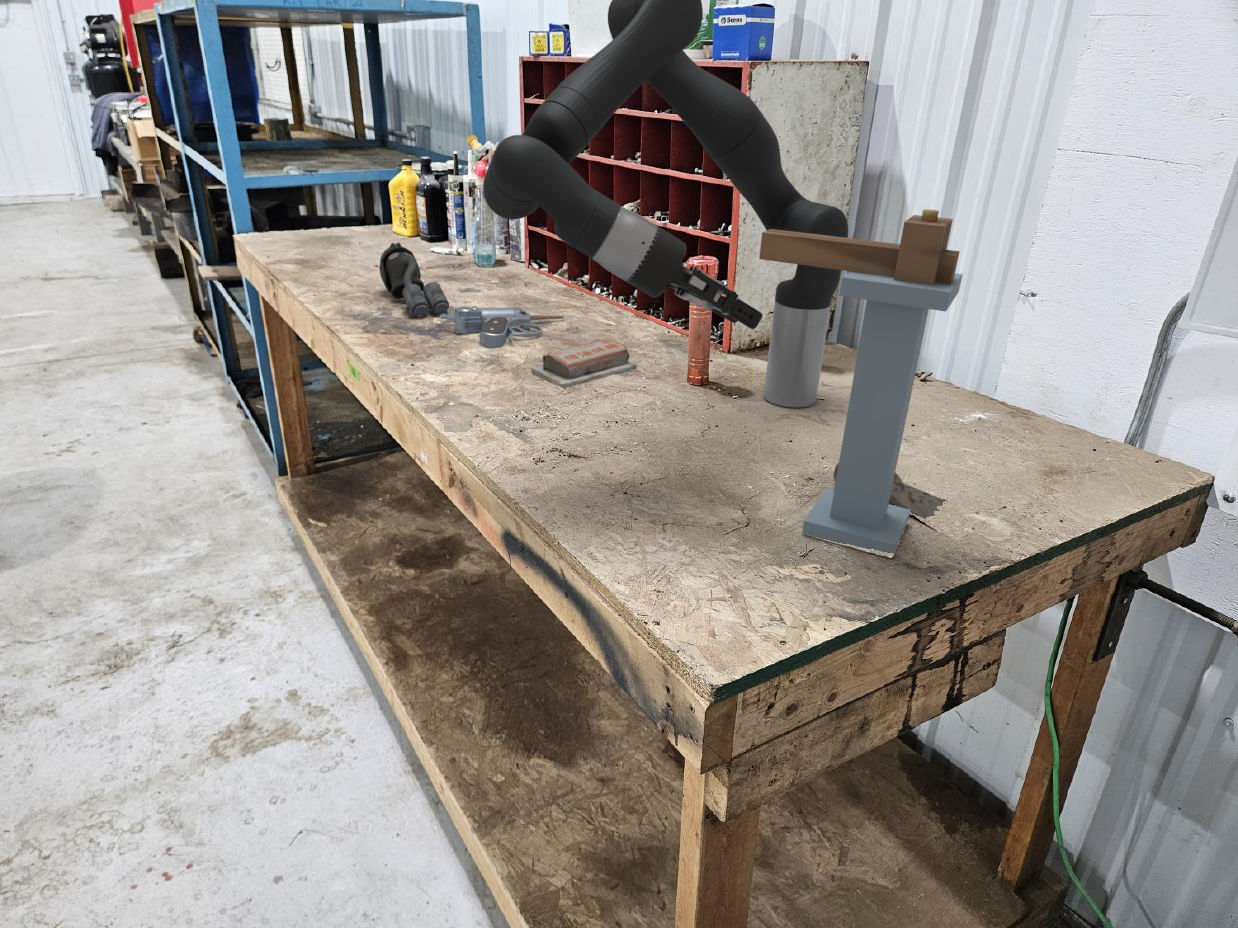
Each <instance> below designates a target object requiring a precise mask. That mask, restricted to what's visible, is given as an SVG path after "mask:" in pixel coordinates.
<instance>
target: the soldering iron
mask: <svg viewBox="0 0 1238 928" xmlns="http://www.w3.org/2000/svg"><path fill="white" fill-rule="evenodd" d="M453 314H454V315H449V314H440V316H439V317H440V319H441V320H449V321H452V322H453V330H454V331H455V332H456V334H459V335H469V334H479V345H480V346H481V347H483V348H488V349H499V348H501V347H504V345H506V341H507V340H506V339H508V340H509V341H510V342H515V340H514V339H513V338H512V337H521V338H532V337H533V338H534V337H539V336H541V335H542V334H543V328H542V326H539V325H538V324H535V323H531V321H536V320H537V321H538V320H539V321H540V320H556V319H557V320H559V319H560V320H562V319H565V316H564V315H540V314H539V315H538V314H537V315H535V314H534V315H531V314H530V313H529V312H528V311H526V310H524V309H522V308H519V307H478V306H472V307H470V306H459V307H455V309H454V313H453ZM530 329H535V330H537V331H536V332H531V331H529V330H530ZM507 337H508V338H507Z"/></svg>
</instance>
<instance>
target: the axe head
mask: <svg viewBox="0 0 1238 928" xmlns="http://www.w3.org/2000/svg"><path fill="white" fill-rule="evenodd" d="M838 465H839V461H838V462H837V464H836V466H835V467H834V471H833V478H834V484H835V483H836V477H837V471H838ZM945 501H948V500H947V499H945V498H941V497H938V496H936V495H933V494H930V493H929V492H926V491H923V490H922V489H919V488H915V487H913V486H912V485H909V484H907V483H904V482H903V481H902V478H901V477H900V475H899V474H898V473H897V472H896V471H895V476H894V480H893V485H892V490H891V495H890V500H889V504H890V505H892V504H894V505H895V506H898V507H902V508H906V509H910V510H911V511H910V512H911V513H912V514H915V515H917V516H920V517H922V518H924V519H926V517H929V516H934V515H935V514H934V511H940V510H939V509H937V506H942V505H943V502H945ZM946 503H947V502H946ZM944 504H945V503H944Z"/></svg>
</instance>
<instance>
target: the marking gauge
mask: <svg viewBox="0 0 1238 928" xmlns="http://www.w3.org/2000/svg"><path fill="white" fill-rule="evenodd" d="M939 214H940V211H939V210H936V209H922V213H921V215H918V214H914V215H912V216H911V217H909V218H908V219H906V220H905V221H904V222H903V227H902V232H901V238H900V243H893V242H886V241H885V242H884V241H876V240H875V241H874V240H867V239H859V238H850V237H848V238H843V237H835V236H826V235H818V234H809V233H801V232H792V231H784V230H775V229H769V230H765V231H763V232H761V241H760V247H759V257H758V258H759V260H764V261H771V262H779V263H785V264H792V265H797V264H799V265H807V266H814V267H821V268H829V269H836V270H841V271H844V272H850V271H851V272H859V273H866V274H873V275H881V276H888V277H894V280H896V281H903V282H910V283H918V284H925V285H932V286H933V285H934V283H940V284H947V285H950V284H951V282H952V281H953V280H954V276H955V273H956V270H957V265H958V261H959V256H960V253H961V252H960V250H953V249H952V250H951V249H948V244H949V239H950V235H951V231H952V230H951V229H952V225H953V220H954V219H953V218H949V217H948V218H947V217H939Z"/></svg>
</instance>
